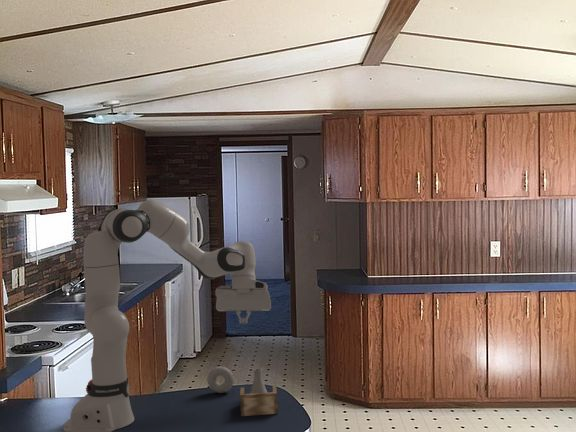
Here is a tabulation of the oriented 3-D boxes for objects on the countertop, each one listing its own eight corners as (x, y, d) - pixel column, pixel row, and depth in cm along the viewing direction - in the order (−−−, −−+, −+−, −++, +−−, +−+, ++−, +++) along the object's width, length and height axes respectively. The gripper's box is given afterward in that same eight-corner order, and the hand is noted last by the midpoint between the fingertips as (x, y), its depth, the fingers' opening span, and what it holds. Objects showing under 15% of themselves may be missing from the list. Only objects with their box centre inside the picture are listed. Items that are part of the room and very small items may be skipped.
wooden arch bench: (240, 416, 209) (239, 395, 209) (241, 404, 220) (240, 384, 220) (278, 413, 210) (277, 393, 209) (276, 402, 221) (275, 382, 220)
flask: (266, 400, 223) (264, 372, 223) (246, 400, 225) (245, 372, 224) (270, 393, 230) (269, 366, 230) (251, 393, 232) (250, 366, 231)
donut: (207, 394, 232) (205, 368, 232) (208, 391, 236) (207, 365, 235) (233, 394, 232) (232, 367, 231) (235, 391, 235) (233, 364, 234)
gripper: (214, 284, 228) (214, 322, 224) (270, 283, 229) (271, 321, 225) (216, 287, 234) (215, 324, 230) (270, 286, 235) (271, 323, 231)
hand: (243, 323), depth 228 cm, fingers closed
